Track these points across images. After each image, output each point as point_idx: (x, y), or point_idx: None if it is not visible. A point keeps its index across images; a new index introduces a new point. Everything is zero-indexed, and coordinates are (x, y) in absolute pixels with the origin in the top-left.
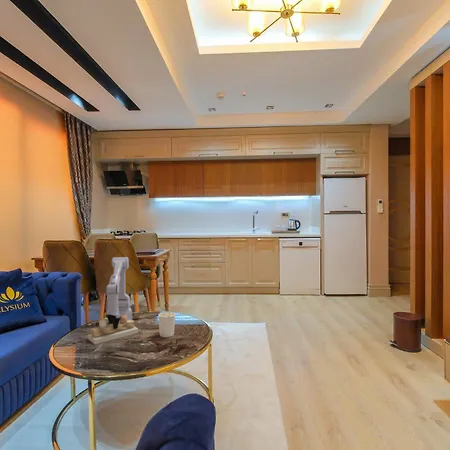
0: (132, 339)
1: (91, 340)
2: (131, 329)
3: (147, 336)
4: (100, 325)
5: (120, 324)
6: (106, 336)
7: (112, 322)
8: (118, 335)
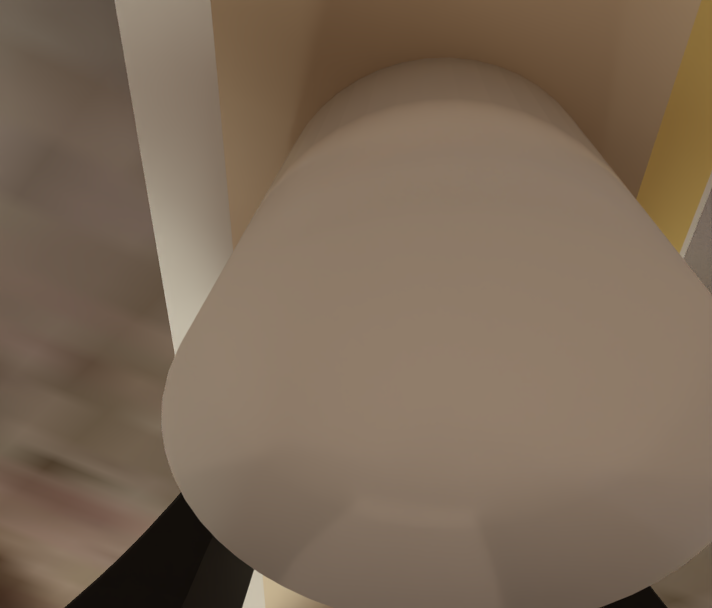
0: (14, 424)
1: None
2: (259, 581)
3: (32, 563)
4: (364, 113)
5: (278, 606)
6: (173, 115)
7: (186, 580)
8: None
